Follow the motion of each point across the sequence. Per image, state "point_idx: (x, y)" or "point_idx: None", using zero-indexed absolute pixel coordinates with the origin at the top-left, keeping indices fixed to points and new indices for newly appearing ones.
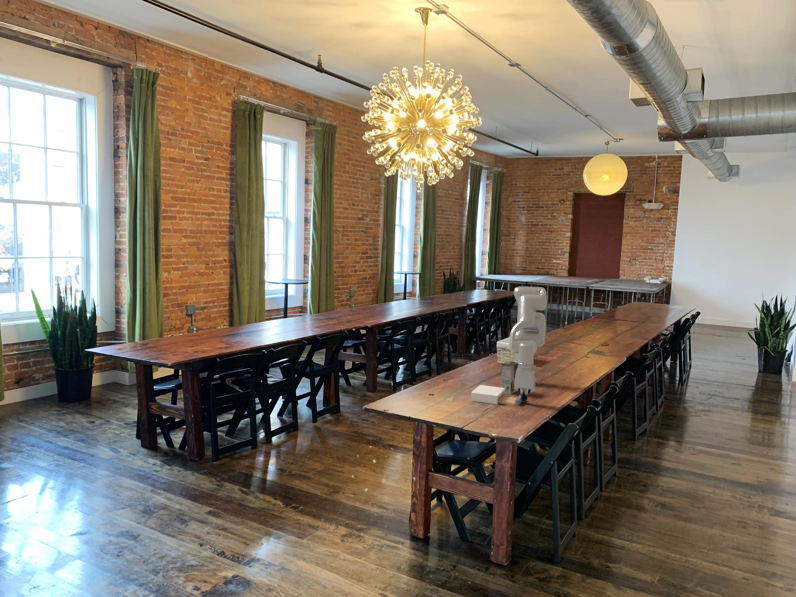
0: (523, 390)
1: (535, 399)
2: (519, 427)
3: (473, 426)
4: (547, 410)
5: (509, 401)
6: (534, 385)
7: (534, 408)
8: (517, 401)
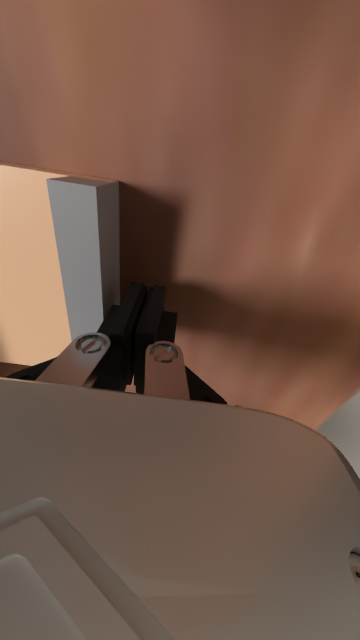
0: (98, 376)
1: (295, 36)
2: None
3: None
4: (324, 400)
5: (30, 341)
6: (344, 468)
7: (237, 386)
8: None
